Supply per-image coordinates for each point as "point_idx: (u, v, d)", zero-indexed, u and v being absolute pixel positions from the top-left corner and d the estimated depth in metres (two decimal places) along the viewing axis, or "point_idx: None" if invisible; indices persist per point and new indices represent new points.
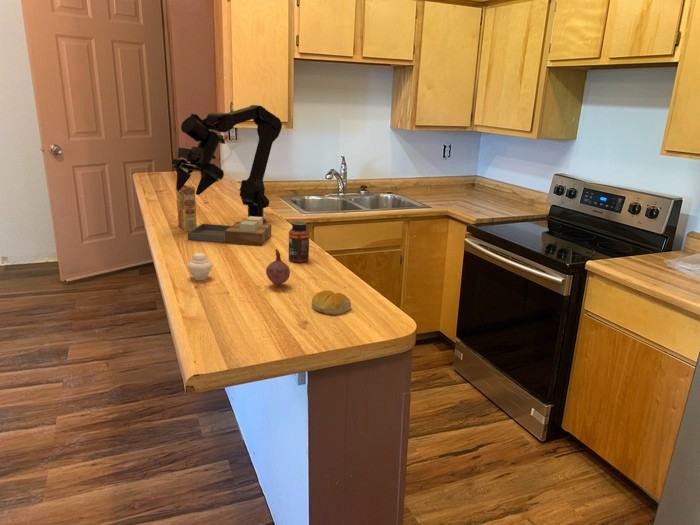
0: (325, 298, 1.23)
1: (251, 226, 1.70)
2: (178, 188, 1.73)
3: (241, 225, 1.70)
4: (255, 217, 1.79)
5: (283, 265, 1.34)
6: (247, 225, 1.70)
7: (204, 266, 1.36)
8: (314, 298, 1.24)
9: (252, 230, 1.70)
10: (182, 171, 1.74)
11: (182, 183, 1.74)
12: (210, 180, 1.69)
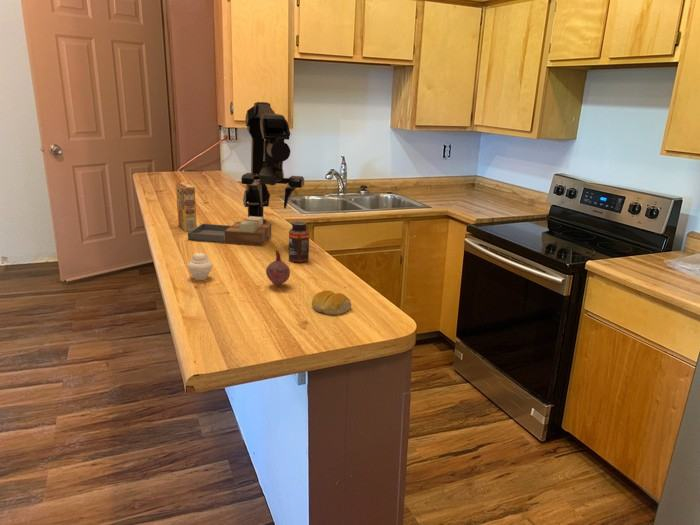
0: (326, 298, 1.23)
1: (251, 226, 1.70)
2: (261, 204, 1.69)
3: (241, 225, 1.70)
4: (255, 217, 1.79)
5: (283, 265, 1.34)
6: (247, 225, 1.70)
7: (204, 266, 1.36)
8: (314, 298, 1.24)
9: (252, 230, 1.70)
10: (258, 187, 1.67)
11: (261, 197, 1.69)
12: (291, 189, 1.68)
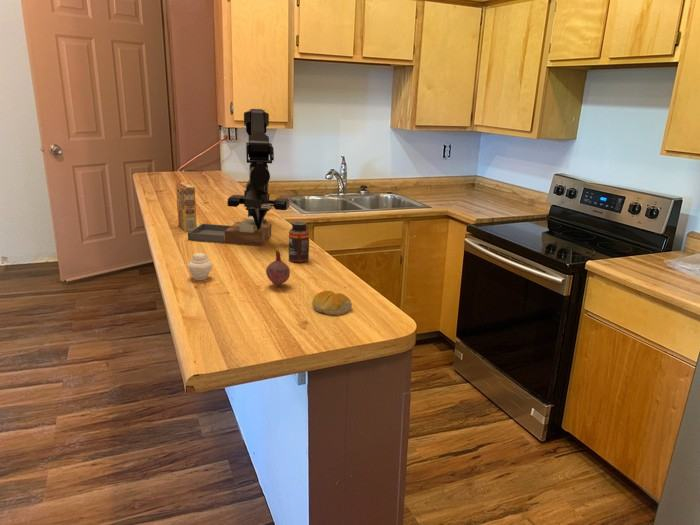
0: (326, 299, 1.23)
1: (251, 226, 1.70)
2: None
3: (241, 225, 1.70)
4: None
5: (283, 265, 1.34)
6: (247, 225, 1.70)
7: (204, 266, 1.36)
8: (315, 298, 1.24)
9: (252, 230, 1.70)
10: (256, 209, 1.69)
11: (258, 220, 1.72)
12: (265, 210, 1.71)
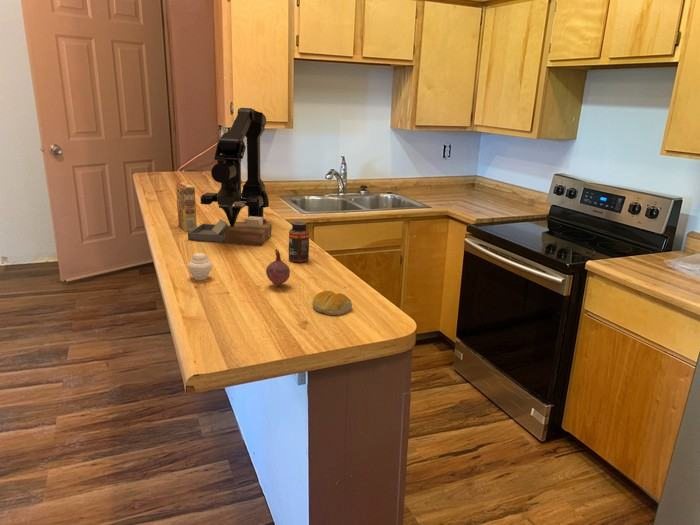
0: (326, 299, 1.23)
1: (220, 221, 1.72)
2: None
3: (213, 229, 1.71)
4: (255, 217, 1.79)
5: (282, 265, 1.34)
6: (217, 224, 1.71)
7: (204, 266, 1.36)
8: (315, 299, 1.24)
9: (224, 223, 1.71)
10: (229, 207, 1.70)
11: None
12: None
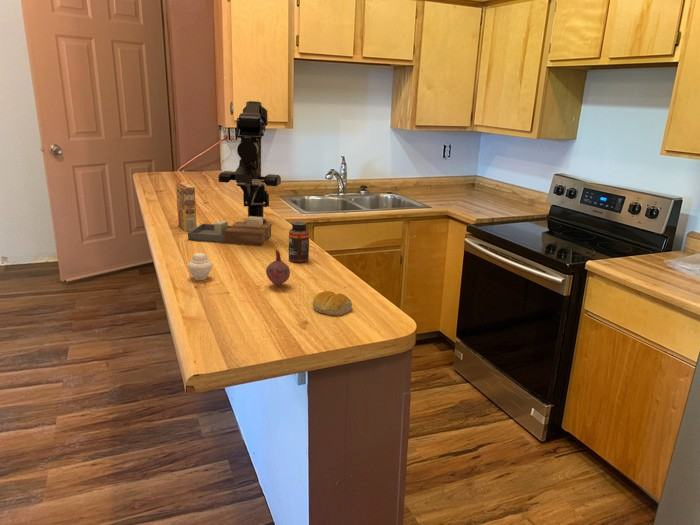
0: (326, 299, 1.23)
1: (221, 221, 1.78)
2: None
3: (216, 223, 1.75)
4: (255, 217, 1.79)
5: (283, 265, 1.34)
6: (218, 222, 1.77)
7: (204, 266, 1.36)
8: (315, 299, 1.23)
9: (225, 221, 1.78)
10: (247, 186, 1.69)
11: (249, 196, 1.72)
12: None
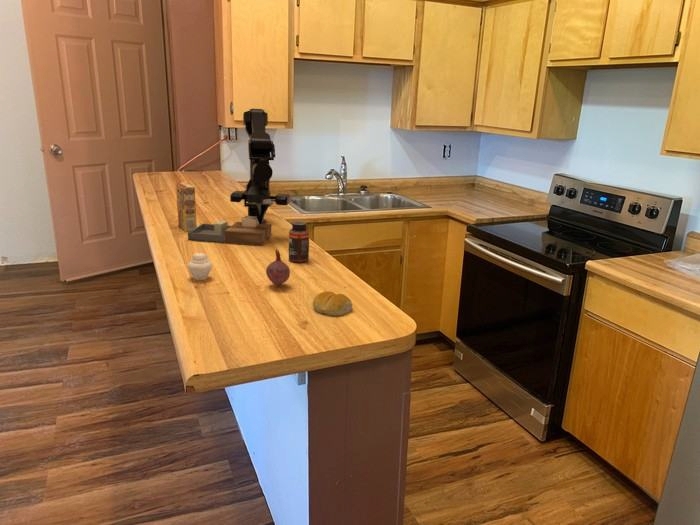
0: (327, 299, 1.22)
1: (221, 221, 1.78)
2: None
3: (216, 223, 1.75)
4: (251, 217, 1.79)
5: (282, 265, 1.34)
6: (218, 222, 1.77)
7: (204, 266, 1.36)
8: (315, 299, 1.23)
9: (225, 221, 1.78)
10: (257, 205, 1.76)
11: None
12: None
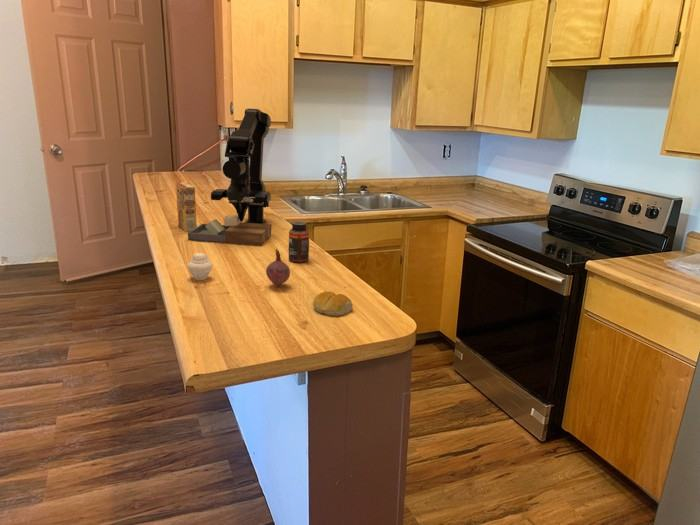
0: (327, 299, 1.22)
1: None
2: None
3: (206, 225, 1.76)
4: (233, 216, 1.80)
5: (283, 265, 1.34)
6: None
7: (204, 266, 1.36)
8: (315, 299, 1.23)
9: None
10: (238, 203, 1.76)
11: None
12: (247, 203, 1.78)
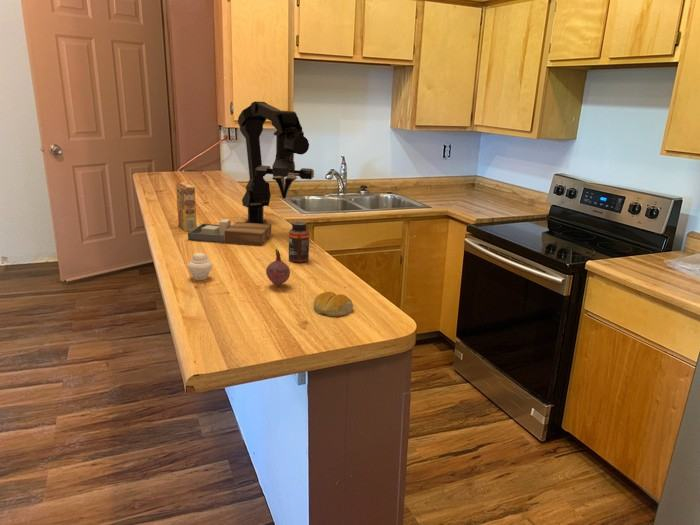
0: (327, 300, 1.22)
1: None
2: None
3: None
4: None
5: (283, 265, 1.34)
6: None
7: (204, 266, 1.36)
8: (316, 300, 1.23)
9: None
10: (282, 179, 1.77)
11: None
12: (290, 180, 1.79)
